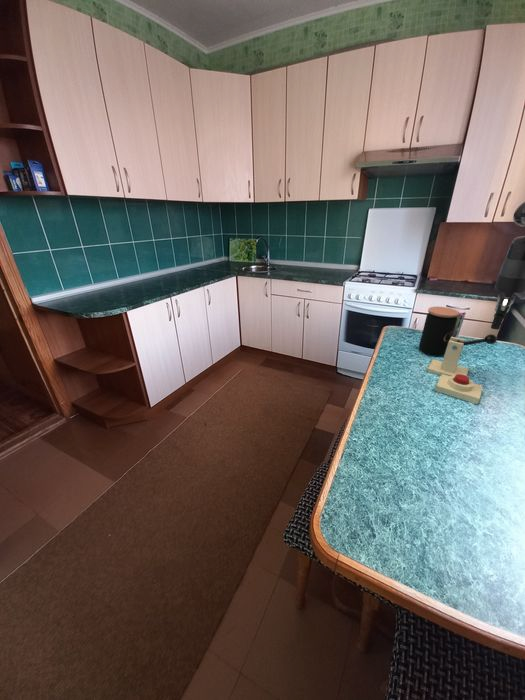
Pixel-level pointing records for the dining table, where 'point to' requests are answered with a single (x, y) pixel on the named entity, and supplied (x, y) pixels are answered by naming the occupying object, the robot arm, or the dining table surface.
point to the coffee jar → (438, 330)
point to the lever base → (449, 360)
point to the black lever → (481, 340)
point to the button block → (459, 389)
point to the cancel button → (461, 379)
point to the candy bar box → (458, 323)
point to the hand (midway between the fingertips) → (494, 328)
